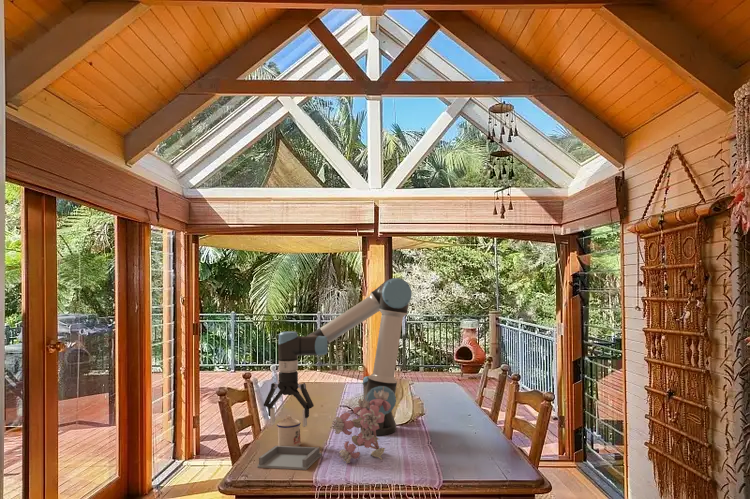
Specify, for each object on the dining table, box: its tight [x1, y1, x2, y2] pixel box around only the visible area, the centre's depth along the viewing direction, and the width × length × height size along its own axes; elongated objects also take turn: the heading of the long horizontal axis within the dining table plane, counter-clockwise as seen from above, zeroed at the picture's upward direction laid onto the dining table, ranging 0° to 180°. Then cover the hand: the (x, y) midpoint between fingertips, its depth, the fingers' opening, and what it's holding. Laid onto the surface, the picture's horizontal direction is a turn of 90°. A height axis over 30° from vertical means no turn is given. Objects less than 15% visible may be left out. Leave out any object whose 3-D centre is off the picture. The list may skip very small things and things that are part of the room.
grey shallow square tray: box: [257, 445, 323, 471], centre depth 202 cm, size 18×16×3 cm
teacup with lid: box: [276, 414, 301, 447], centre depth 222 cm, size 12×9×12 cm
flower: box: [329, 387, 391, 464], centre depth 203 cm, size 20×22×25 cm
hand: (288, 425), depth 223 cm, fingers open, 13 cm apart
